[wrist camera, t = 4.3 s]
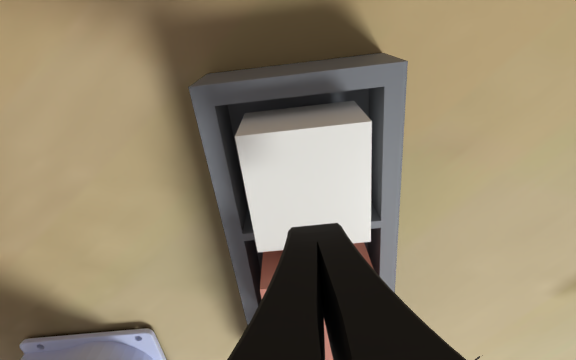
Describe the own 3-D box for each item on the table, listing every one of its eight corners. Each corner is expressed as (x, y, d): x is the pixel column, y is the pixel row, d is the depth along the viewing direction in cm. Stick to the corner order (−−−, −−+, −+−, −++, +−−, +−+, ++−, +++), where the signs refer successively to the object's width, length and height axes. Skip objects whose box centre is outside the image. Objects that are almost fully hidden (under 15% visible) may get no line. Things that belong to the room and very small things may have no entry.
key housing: (268, 352, 24) (265, 398, 21) (207, 73, 15) (188, 87, 12) (376, 344, 23) (389, 389, 20) (382, 52, 14) (407, 60, 11)
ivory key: (262, 212, 16) (257, 252, 13) (244, 112, 13) (234, 136, 11) (355, 203, 15) (370, 241, 13) (354, 100, 13) (371, 121, 10)
